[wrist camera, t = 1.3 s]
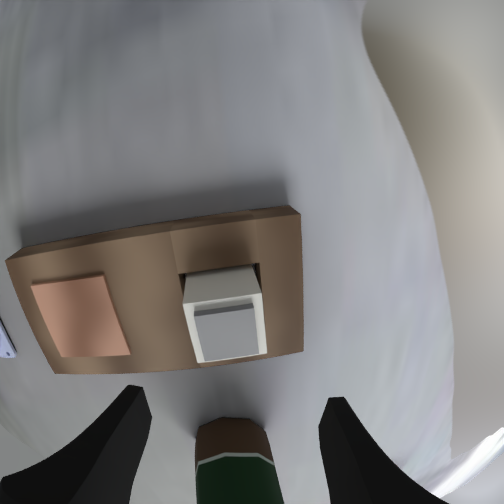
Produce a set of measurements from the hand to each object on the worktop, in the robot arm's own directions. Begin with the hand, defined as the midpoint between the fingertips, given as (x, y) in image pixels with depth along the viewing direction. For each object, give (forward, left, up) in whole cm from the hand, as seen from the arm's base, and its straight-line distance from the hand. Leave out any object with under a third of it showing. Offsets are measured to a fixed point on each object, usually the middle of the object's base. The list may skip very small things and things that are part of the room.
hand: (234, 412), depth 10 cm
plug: (0, 0, -11) cm, 11 cm away
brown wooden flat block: (-5, 0, -11) cm, 12 cm away
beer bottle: (-2, -18, -11) cm, 21 cm away
